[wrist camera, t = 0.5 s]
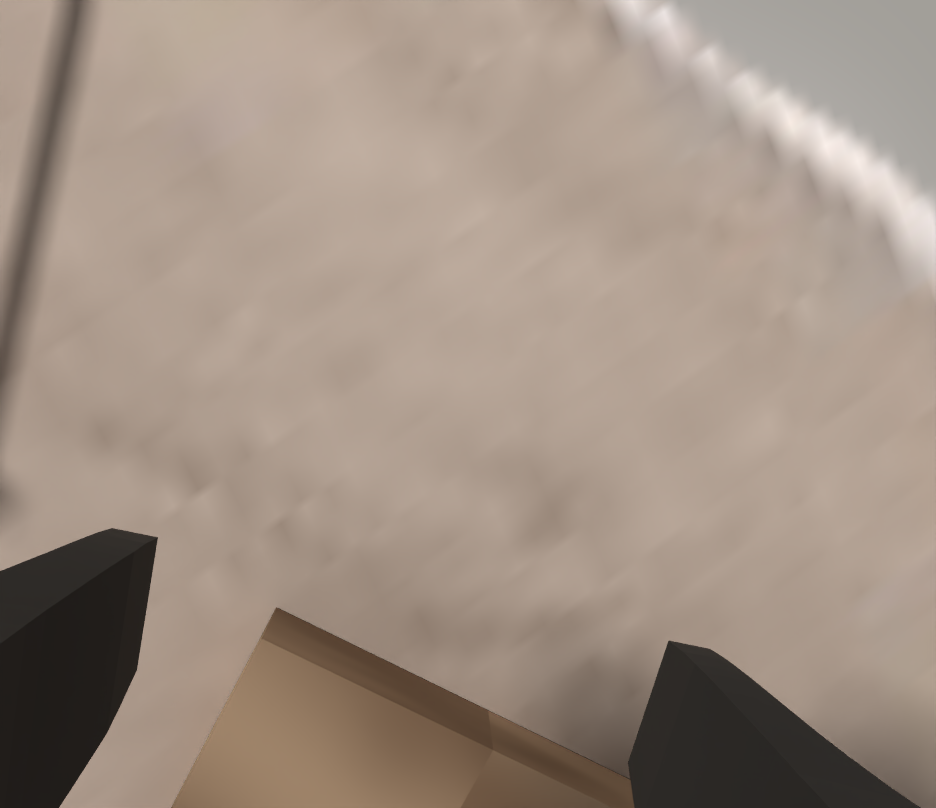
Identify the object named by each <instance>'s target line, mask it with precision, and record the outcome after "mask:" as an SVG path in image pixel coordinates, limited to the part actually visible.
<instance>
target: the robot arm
mask: <svg viewBox="0 0 936 808" xmlns="http://www.w3.org/2000/svg"><path fill="white" fill-rule="evenodd" d="M157 539H158V537H153V536H148V535H143V534H138V533H133V532H128V531H123V530H118V529H113V528H111V529H108V530H104V531H101V532H98V533H95V534H93V535H90V536H87V537H85V538H82V539H80V540H77V541H75V542H72V543H70V544H67V545H65V546H62V547H60V548H57V549H55V550H53V551H50V552H48V553H45V554H42V555H40V556H37V557H35V558H32V559H30V560H27V561H25V562H22V563H20V564H17V565H15V566H12V567H10V568H7V569H5V570H2V571H0V808H59V807H60V805H61V804H62V802H63V801H64V799H65V798H66V796H67V794H68V793H69V791H70V790H71V788H72V787H73V785H74V784H75V782H76V781H77V779H78V778H79V776H80V774H81V773H82V771H83V770H84V768H85V767H86V765H87V764H88V762H89V760H90V759H91V757H92V756H93V754H94V753H95V751H96V750H97V748H98V746H99V745H100V743H101V742H102V740H103V738H104V737H105V735H106V734H107V732H108V730H109V728H110V726H111V724H112V722H113V719H114V717H115V715H116V713H117V711H118V709H119V707H120V705H121V703H122V701H123V699H124V696H125V694H126V692H127V690H128V688H129V686H130V683H131V681H132V679H133V677H134V675H135V673H136V671H137V665H138V659H139V653H140V646H141V640H142V634H143V627H144V621H145V615H146V608H147V602H148V596H149V590H150V583H151V577H152V571H153V564H154V558H155V552H156V545H157ZM628 765H629V772H630V780H631V787H632V795H633V802H634V808H920V807H919V806H917V805H916V804H914V803H912V802H911V801H909V800H908V799H907V798H905V797H904V796H902V795H901V794H899V793H898V792H896V791H895V790H894V789H892V788H891V787H889V786H888V785H886V784H885V783H884V782H882V781H881V780H880V779H878V778H877V777H876V776H874V775H873V774H871V773H870V772H869V771H867V770H866V769H865V768H863V767H862V766H861V765H859V764H858V763H857V762H855V761H854V760H853V759H851V758H850V757H848V756H847V755H846V754H845V753H843V752H842V751H841V750H839V749H838V748H837V747H836V746H834V745H833V744H832V743H830V742H829V741H828V740H826V739H825V738H824V737H823V736H821V735H820V734H819V733H818V732H816V731H815V730H814V729H813V728H811V727H810V726H809V725H808V724H806V723H805V722H804V721H803V720H802V719H800V718H799V717H798V716H797V715H795V714H794V713H793V712H792V711H790V710H789V709H788V708H787V707H786V706H784V705H783V704H782V703H781V702H779V701H778V700H777V699H776V698H775V697H773V696H772V695H771V694H770V693H768V692H767V691H766V690H765V689H763V688H762V687H761V686H760V685H759V684H757V683H756V682H755V681H754V680H752V679H751V678H750V677H749V676H747V675H746V674H745V673H744V672H742V671H741V670H740V669H738V668H737V667H736V666H734V665H733V664H732V663H730V662H729V661H728V660H726V659H725V658H723V657H722V656H720V655H719V654H717V653H716V652H714V651H712V650H711V649H707V648H702V647H697V646H692V645H688V644H683V643H678V642H673V641H668V644H667V647H666V650H665V653H664V656H663V659H662V662H661V665H660V668H659V671H658V674H657V677H656V680H655V683H654V686H653V689H652V692H651V695H650V698H649V701H648V704H647V707H646V710H645V713H644V716H643V719H642V722H641V725H640V728H639V731H638V734H637V737H636V740H635V743H634V746H633V749H632V752H631V755H630V758H629V761H628Z"/></svg>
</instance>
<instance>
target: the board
mask: <svg viewBox="0 0 936 808" xmlns="http://www.w3.org/2000/svg"><path fill="white" fill-rule="evenodd" d="M171 808H634V802H633V795H632V787H631V780H630V779H628V778H625V777H623V776H621V775H619V774H617V773H615V772H613V771H611V770H609V769H607V768H605V767H603V766H601V765H599V764H597V763H595V762H593V761H591V760H589V759H586V758H584V757H582V756H580V755H578V754H576V753H574V752H572V751H570V750H568V749H566V748H564V747H562V746H560V745H558V744H556V743H554V742H552V741H549V740H547V739H545V738H543V737H541V736H539V735H537V734H535V733H533V732H531V731H529V730H527V729H525V728H523V727H521V726H519V725H517V724H515V723H513V722H510V721H508V720H506V719H504V718H502V717H500V716H498V715H496V714H494V713H492V712H490V711H488V710H486V709H484V708H482V707H480V706H478V705H476V704H473V703H471V702H469V701H467V700H465V699H463V698H461V697H459V696H457V695H455V694H453V693H451V692H449V691H447V690H445V689H443V688H441V687H439V686H437V685H434V684H432V683H430V682H428V681H426V680H424V679H422V678H420V677H418V676H416V675H414V674H412V673H410V672H408V671H406V670H404V669H402V668H400V667H397V666H395V665H393V664H391V663H389V662H387V661H385V660H383V659H381V658H379V657H377V656H375V655H373V654H371V653H369V652H367V651H365V650H363V649H361V648H358V647H356V646H354V645H352V644H350V643H348V642H346V641H344V640H342V639H340V638H338V637H336V636H334V635H332V634H330V633H328V632H326V631H324V630H321V629H319V628H317V627H315V626H313V625H311V624H309V623H307V622H305V621H303V620H301V619H299V618H297V617H295V616H293V615H291V614H289V613H287V612H285V611H282V610H280V609H278V608H276V609H275V611H274V613H273V615H272V617H271V619H270V621H269V622H268V624H267V626H266V628H265V630H264V632H263V634H262V636H261V638H260V640H259V642H258V643H257V645H256V647H255V649H254V651H253V653H252V655H251V657H250V659H249V661H248V662H247V664H246V666H245V668H244V670H243V672H242V674H241V676H240V678H239V680H238V681H237V683H236V685H235V687H234V689H233V691H232V693H231V695H230V697H229V699H228V701H227V702H226V704H225V706H224V708H223V710H222V712H221V714H220V716H219V718H218V720H217V721H216V723H215V725H214V727H213V729H212V731H211V733H210V735H209V737H208V739H207V740H206V742H205V744H204V746H203V748H202V750H201V752H200V754H199V756H198V758H197V760H196V761H195V763H194V765H193V767H192V769H191V771H190V773H189V775H188V777H187V779H186V780H185V782H184V784H183V786H182V788H181V790H180V792H179V794H178V796H177V798H176V799H175V801H174V803H173V805H172V807H171Z"/></svg>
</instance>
